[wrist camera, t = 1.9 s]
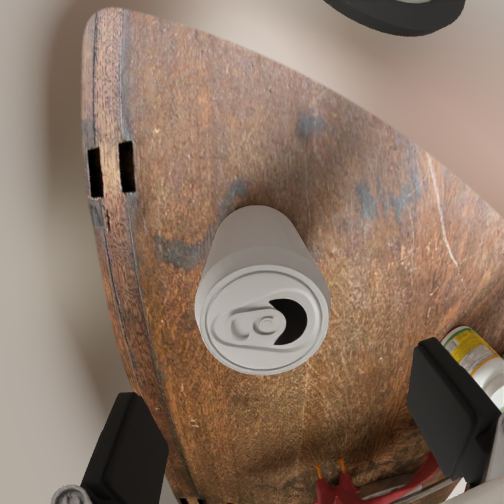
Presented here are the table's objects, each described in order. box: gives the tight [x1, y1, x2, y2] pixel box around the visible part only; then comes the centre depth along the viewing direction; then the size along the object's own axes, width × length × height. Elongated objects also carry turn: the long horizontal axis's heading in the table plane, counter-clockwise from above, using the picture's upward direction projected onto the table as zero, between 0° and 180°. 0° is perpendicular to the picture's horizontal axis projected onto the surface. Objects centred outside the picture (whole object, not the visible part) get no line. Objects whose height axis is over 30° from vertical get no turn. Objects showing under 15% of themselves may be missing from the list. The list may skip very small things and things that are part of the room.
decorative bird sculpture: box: [227, 451, 440, 504], centre depth 31 cm, size 28×9×15 cm
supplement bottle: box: [441, 326, 504, 410], centre depth 25 cm, size 5×5×10 cm
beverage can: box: [195, 205, 331, 375], centre depth 19 cm, size 6×6×12 cm
